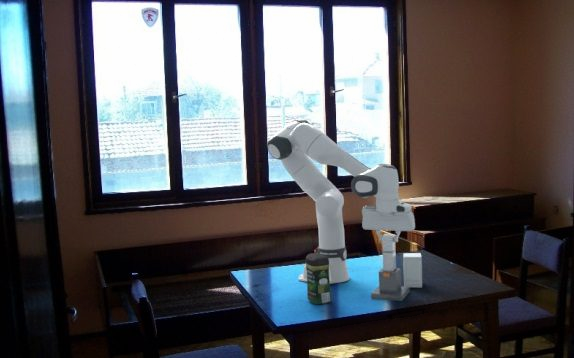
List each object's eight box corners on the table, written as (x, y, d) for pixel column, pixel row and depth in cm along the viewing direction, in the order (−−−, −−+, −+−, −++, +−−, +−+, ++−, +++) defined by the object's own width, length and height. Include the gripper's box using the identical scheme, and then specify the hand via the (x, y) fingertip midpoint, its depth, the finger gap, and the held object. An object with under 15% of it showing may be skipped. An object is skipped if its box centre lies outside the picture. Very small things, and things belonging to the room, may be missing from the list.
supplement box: (422, 287, 241) (421, 256, 240) (403, 287, 243) (402, 257, 242) (422, 282, 249) (421, 252, 247) (404, 282, 250) (403, 252, 249)
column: (383, 281, 232) (381, 235, 230) (386, 278, 236) (384, 233, 234) (393, 282, 230) (392, 236, 228) (396, 279, 234) (395, 234, 232)
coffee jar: (304, 299, 234) (302, 253, 232) (322, 296, 237) (320, 250, 235) (315, 306, 225) (312, 258, 223) (334, 303, 228) (331, 255, 226)
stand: (371, 298, 231) (370, 273, 230) (380, 289, 242) (379, 265, 241) (401, 301, 226) (400, 275, 225) (409, 291, 236) (408, 267, 235)
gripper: (359, 206, 232) (360, 241, 233) (411, 208, 223) (412, 244, 224) (364, 204, 237) (365, 238, 239) (415, 205, 229) (416, 241, 230)
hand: (388, 241), depth 231 cm, fingers closed on column, 4 cm apart
